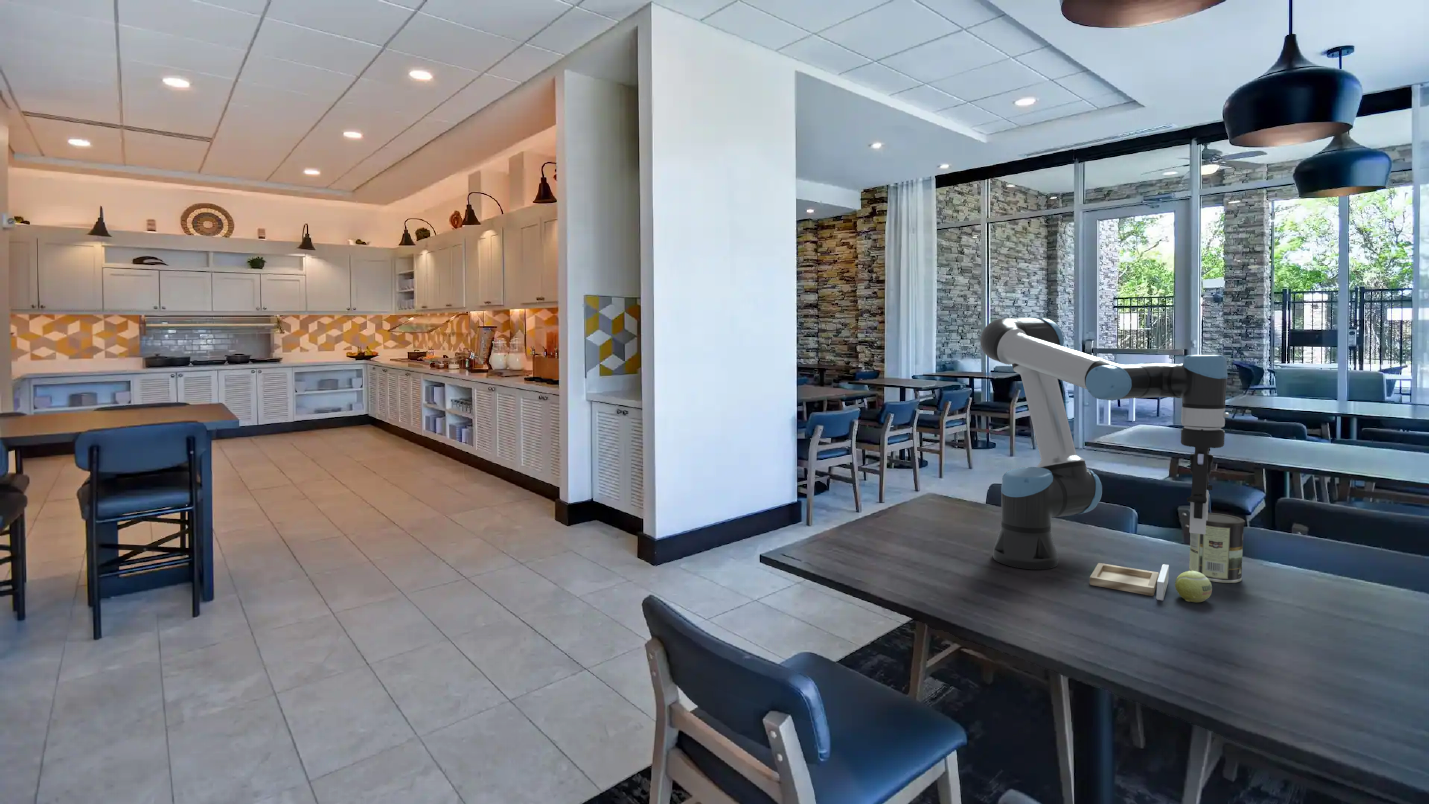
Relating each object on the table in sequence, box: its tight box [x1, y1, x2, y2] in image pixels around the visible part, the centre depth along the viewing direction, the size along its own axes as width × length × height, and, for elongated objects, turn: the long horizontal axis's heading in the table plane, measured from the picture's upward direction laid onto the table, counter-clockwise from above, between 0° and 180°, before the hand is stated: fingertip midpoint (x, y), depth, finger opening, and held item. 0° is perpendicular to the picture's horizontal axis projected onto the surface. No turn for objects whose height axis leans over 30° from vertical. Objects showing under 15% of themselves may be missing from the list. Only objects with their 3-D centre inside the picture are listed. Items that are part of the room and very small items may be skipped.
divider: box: [1155, 563, 1170, 601], centre depth 153 cm, size 1×14×4 cm, turn 143°
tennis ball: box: [1174, 570, 1213, 603], centre depth 147 cm, size 6×7×7 cm
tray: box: [1089, 562, 1160, 597], centre depth 158 cm, size 12×12×2 cm
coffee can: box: [1188, 512, 1246, 584], centre depth 161 cm, size 10×10×14 cm
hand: (1198, 526), depth 146 cm, fingers open, 13 cm apart
